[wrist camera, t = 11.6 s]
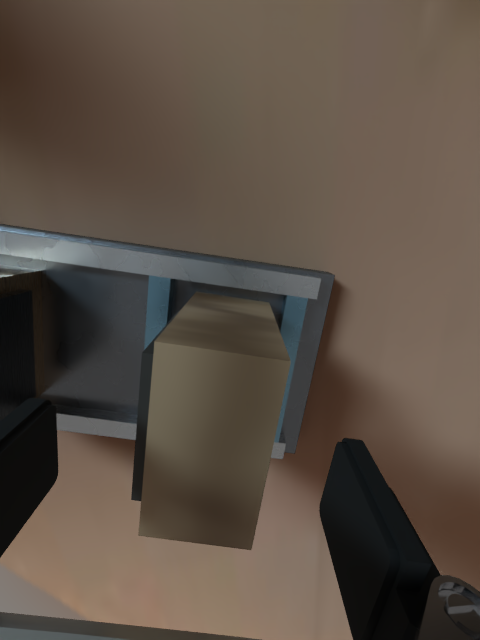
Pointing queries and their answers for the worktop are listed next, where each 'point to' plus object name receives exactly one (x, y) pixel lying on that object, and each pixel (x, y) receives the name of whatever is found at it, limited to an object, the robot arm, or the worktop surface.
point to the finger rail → (130, 322)
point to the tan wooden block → (208, 421)
